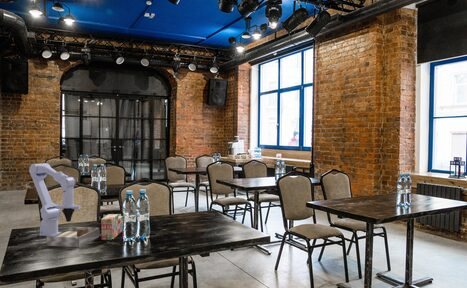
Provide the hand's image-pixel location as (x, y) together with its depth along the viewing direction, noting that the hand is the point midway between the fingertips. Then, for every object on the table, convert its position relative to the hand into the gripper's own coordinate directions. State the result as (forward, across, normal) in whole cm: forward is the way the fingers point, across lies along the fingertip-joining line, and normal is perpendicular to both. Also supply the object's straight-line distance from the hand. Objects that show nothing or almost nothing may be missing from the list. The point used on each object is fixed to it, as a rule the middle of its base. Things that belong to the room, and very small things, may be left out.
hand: (68, 221), depth 215 cm
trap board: (+9, +7, -6) cm, 13 cm away
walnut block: (+6, +12, -6) cm, 15 cm away
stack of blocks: (+10, +23, +9) cm, 26 cm away
